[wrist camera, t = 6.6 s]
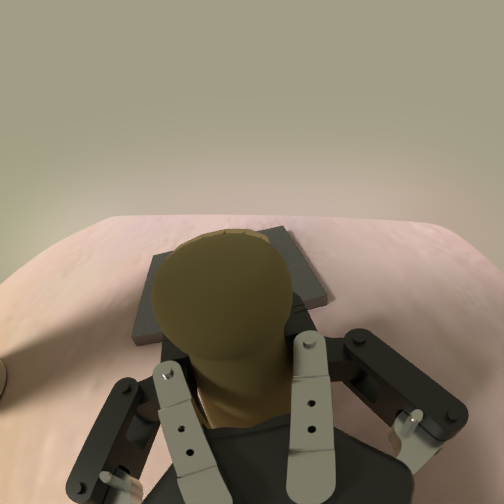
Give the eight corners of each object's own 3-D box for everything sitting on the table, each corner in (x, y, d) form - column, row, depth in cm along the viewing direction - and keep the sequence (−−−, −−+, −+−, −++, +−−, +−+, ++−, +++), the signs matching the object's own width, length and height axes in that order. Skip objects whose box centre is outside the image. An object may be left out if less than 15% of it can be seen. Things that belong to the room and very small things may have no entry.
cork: (246, 361, 19) (205, 210, 13) (328, 392, 15) (328, 223, 10) (190, 425, 15) (98, 279, 9) (276, 474, 11) (222, 343, 6)
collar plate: (136, 345, 21) (121, 319, 20) (155, 262, 34) (148, 241, 32) (326, 304, 22) (326, 273, 21) (284, 233, 35) (280, 210, 33)
